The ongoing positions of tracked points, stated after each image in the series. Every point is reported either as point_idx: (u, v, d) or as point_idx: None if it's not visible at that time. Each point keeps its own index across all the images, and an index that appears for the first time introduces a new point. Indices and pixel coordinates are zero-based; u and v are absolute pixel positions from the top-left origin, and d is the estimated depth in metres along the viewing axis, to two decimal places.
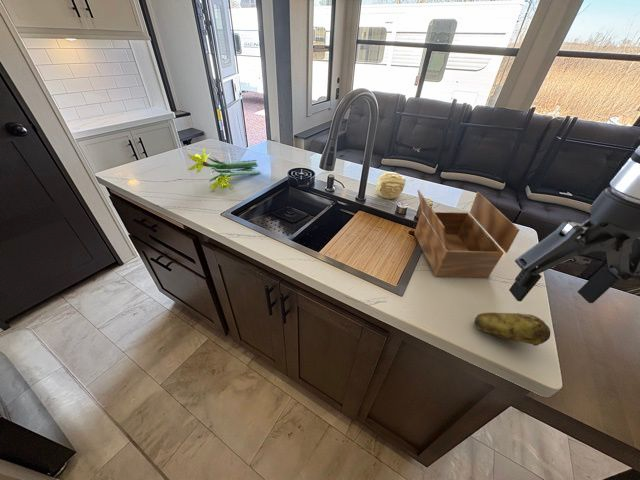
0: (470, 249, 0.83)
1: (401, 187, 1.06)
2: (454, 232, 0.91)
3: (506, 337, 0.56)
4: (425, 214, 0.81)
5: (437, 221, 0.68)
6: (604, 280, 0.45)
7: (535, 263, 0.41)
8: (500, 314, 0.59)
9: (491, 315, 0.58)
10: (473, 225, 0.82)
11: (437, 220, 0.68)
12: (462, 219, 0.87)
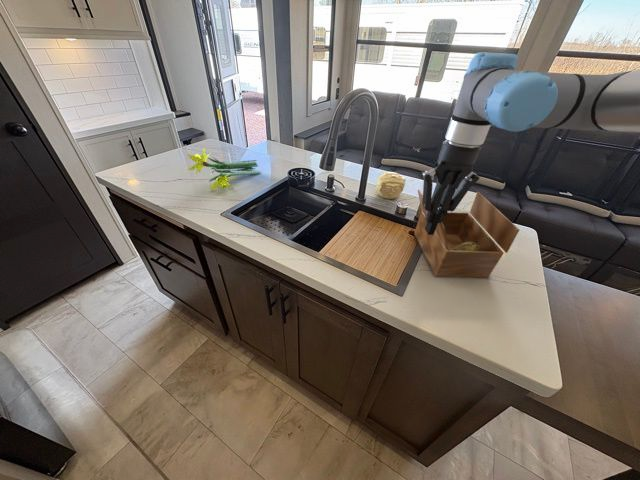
0: None
1: (401, 187, 1.06)
2: (454, 232, 0.91)
3: None
4: (425, 214, 0.81)
5: None
6: None
7: (427, 203, 0.62)
8: (450, 250, 0.76)
9: None
10: (473, 225, 0.82)
11: None
12: (462, 219, 0.87)
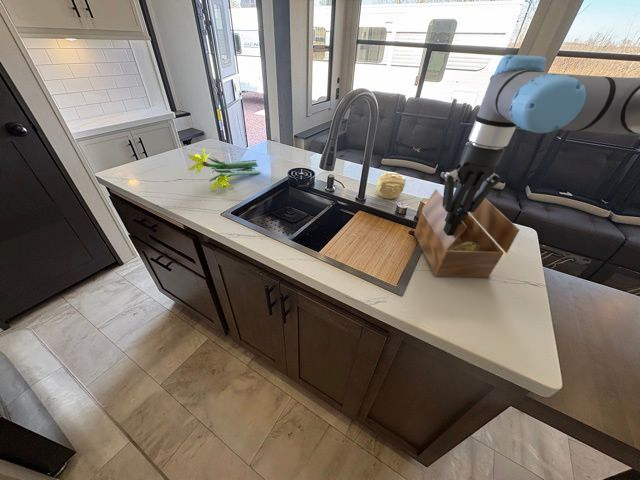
0: None
1: (401, 187, 1.06)
2: None
3: None
4: (428, 214, 0.81)
5: None
6: None
7: (448, 204, 0.62)
8: (450, 250, 0.76)
9: None
10: (473, 225, 0.82)
11: None
12: None
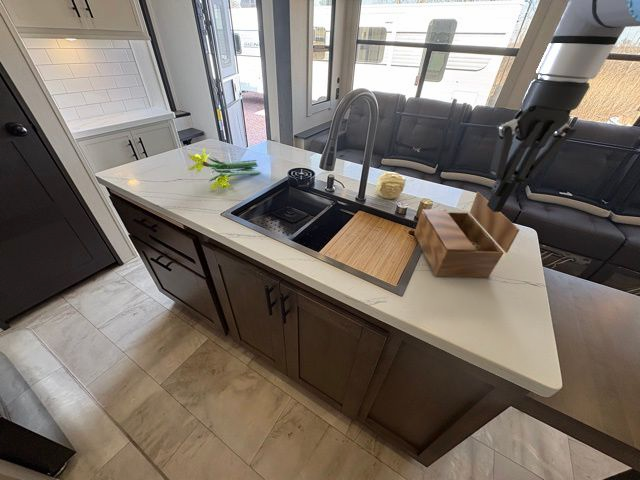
0: None
1: (401, 187, 1.06)
2: None
3: None
4: (430, 216, 0.81)
5: (465, 240, 0.72)
6: None
7: (500, 168, 0.48)
8: (450, 250, 0.76)
9: None
10: (473, 225, 0.82)
11: (467, 240, 0.72)
12: (462, 219, 0.87)
